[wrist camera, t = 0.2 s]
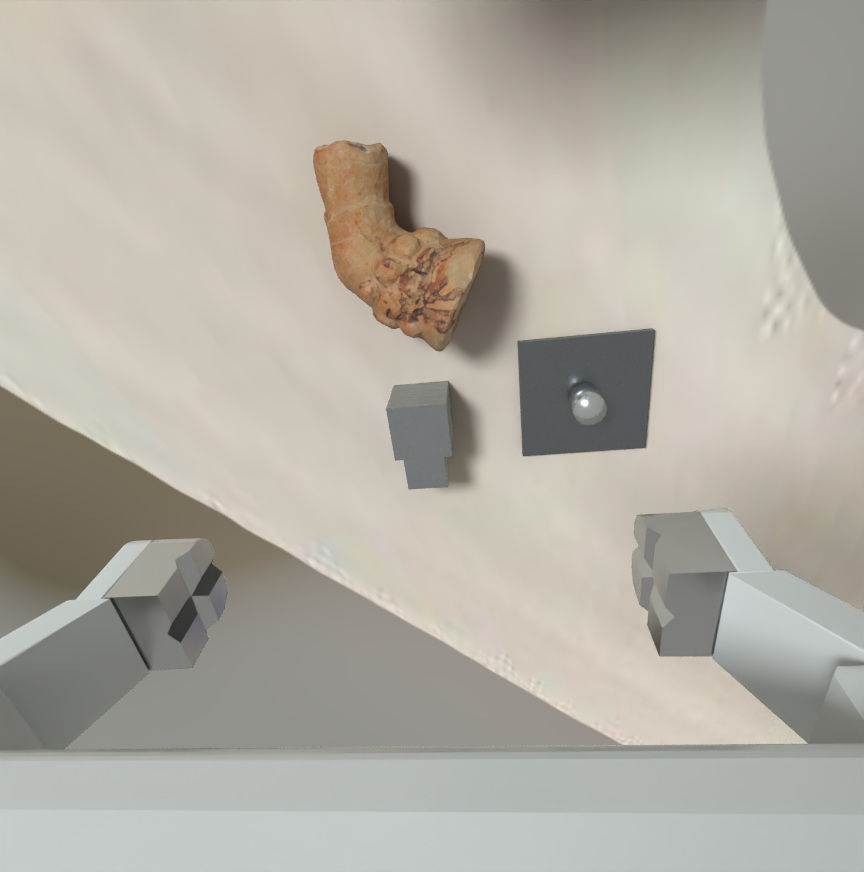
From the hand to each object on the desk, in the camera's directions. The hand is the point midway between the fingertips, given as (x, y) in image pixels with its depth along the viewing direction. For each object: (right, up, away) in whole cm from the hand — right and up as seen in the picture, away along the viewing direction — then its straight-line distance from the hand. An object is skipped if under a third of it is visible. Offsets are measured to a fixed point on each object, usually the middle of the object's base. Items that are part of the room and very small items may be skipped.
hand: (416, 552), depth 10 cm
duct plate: (+17, +7, +49) cm, 53 cm away
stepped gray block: (0, +4, +52) cm, 52 cm away
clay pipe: (-2, +22, +43) cm, 48 cm away
